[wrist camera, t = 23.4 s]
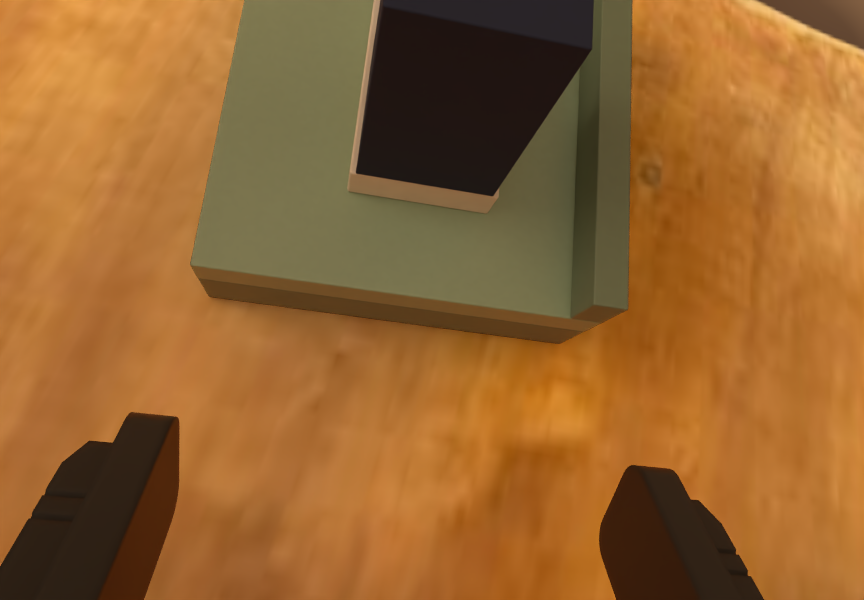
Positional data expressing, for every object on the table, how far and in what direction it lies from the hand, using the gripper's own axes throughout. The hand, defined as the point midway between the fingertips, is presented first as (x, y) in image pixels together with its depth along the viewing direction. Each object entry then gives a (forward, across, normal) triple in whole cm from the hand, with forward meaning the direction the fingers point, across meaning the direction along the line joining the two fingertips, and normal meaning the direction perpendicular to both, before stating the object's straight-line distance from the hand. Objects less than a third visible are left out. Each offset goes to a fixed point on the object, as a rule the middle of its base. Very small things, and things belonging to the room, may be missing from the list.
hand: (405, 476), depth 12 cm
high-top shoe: (+16, -1, -3) cm, 16 cm away
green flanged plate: (+19, -1, -1) cm, 19 cm away
